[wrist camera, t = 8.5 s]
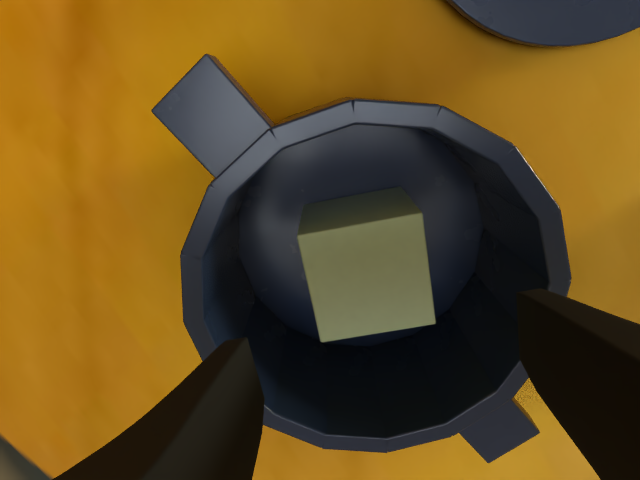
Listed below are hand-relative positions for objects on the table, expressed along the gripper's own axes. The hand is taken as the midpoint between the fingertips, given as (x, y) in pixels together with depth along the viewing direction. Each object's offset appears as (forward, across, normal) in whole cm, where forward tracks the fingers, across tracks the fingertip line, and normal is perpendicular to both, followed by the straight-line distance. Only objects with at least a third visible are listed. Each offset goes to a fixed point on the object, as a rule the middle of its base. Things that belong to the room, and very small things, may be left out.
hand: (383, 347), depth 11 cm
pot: (+9, 0, 0) cm, 9 cm away
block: (+9, 0, 0) cm, 9 cm away
